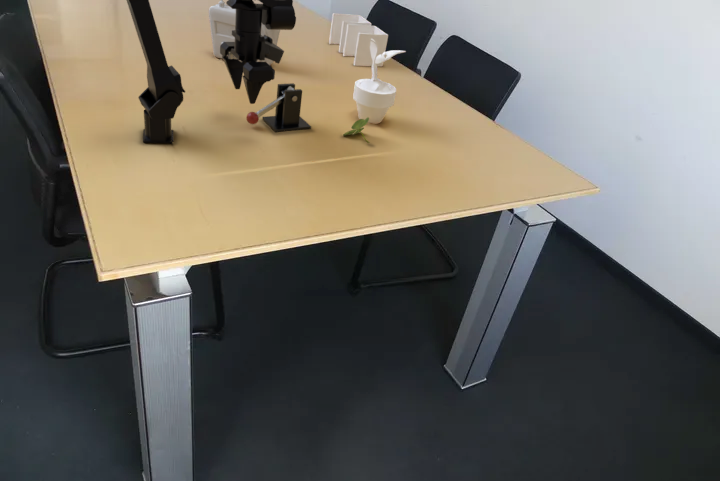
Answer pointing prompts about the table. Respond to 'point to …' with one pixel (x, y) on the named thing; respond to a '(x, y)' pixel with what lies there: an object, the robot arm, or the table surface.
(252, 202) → the table surface
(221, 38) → the radio
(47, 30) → the table surface
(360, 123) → the seedling
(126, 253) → the table surface
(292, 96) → the lever base
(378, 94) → the potted plant
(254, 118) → the red knob lever
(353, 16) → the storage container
